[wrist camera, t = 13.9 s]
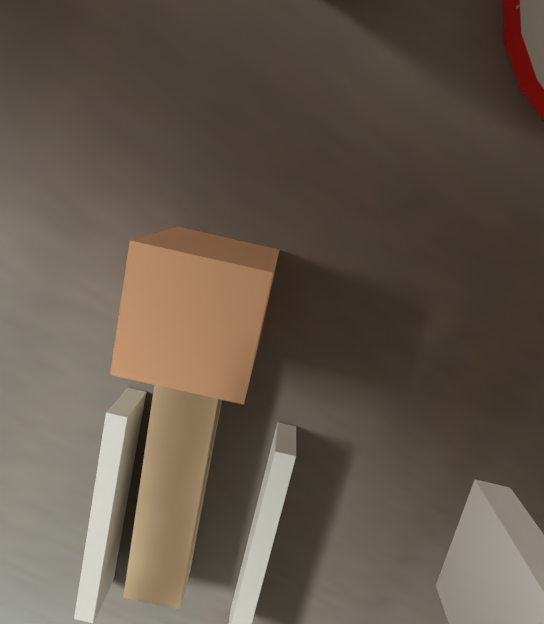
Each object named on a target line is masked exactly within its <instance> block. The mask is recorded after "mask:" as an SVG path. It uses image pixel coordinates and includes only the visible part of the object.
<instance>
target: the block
mask: <svg viewBox="0 0 544 624" xmlns="http://www.w3.org/2000/svg"><path fill="white" fill-rule="evenodd" d="M279 250H280V249H275V248H271V247H266V246H262V245H257V244H253V243H248V242H244V241H240V240H235V239H231V238H226V237H222V236H217V235H213V234H209V233H204V232H200V231H195V230H191V229H186V228H182V227H175V228H171V229H168V230H164V231H161V232H157V233H154V234H150V235H147V236H144V237H140V238H137V239H133V240H130V243H129V250H128V257H127V264H126V271H125V277H124V284H123V291H122V298H121V305H120V312H119V318H118V325H117V332H116V339H115V346H114V352H113V359H112V366H111V373H110V375H113V376H118V377H122V378H127V379H131V380H136V381H140V382H145V383H149V384H154V385H158V386H163V387H167V388H171V389H176V390H180V391H185V392H189V393H194V394H198V395H203V396H207V397H212V398H216V399H221V400H225V401H230V402H234V403H239V404H243V405H244V402H245V398H246V394H247V390H248V386H249V381H250V377H251V373H252V369H253V365H254V361H255V357H256V353H257V349H258V345H259V340H260V336H261V331H262V327H263V322H264V318H265V313H266V309H267V304H268V300H269V295H270V291H271V286H272V282H273V277H274V273H275V268H276V264H277V259H278V255H279Z"/></svg>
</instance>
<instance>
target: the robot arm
mask: <svg viewBox="0 0 544 624" xmlns="http://www.w3.org/2000/svg"><path fill="white" fill-rule="evenodd" d="M436 588H437V591H438V594H439V597H440V600H441V603H442V606H443V609H444V611H445V614H446V617H447V620H448V623H449V624H544V534H543V533H542V531H541V530H540V529H539V527H538V526H537V524H536V523H535V522H534V520H533V519H532V517H531V516H530V515H529V513H528V512H527V510H526V509H525V508H524V506H523V505H522V503H521V502H520V501H519V499H518V498H517V496H516V495H515V494H514V492H513V491H512V489H511V488H510V487H505V486H501V485H497V484H493V483H488V482H484V481H480V480H476V479H475V480H474V483H473V485H472V488H471V491H470V494H469V496H468V499H467V502H466V504H465V507H464V510H463V513H462V515H461V518H460V521H459V523H458V526H457V529H456V532H455V534H454V537H453V540H452V542H451V545H450V548H449V551H448V553H447V556H446V559H445V561H444V564H443V567H442V570H441V572H440V575H439V578H438V580H437V583H436Z"/></svg>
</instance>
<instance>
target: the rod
mask: <svg viewBox="0 0 544 624" xmlns="http://www.w3.org/2000/svg"><path fill="white" fill-rule="evenodd" d="M221 403H222V400H221V399H216V398H212V397H207V396H203V395H198V394H194V393H189V392H185V391H180V390H176V389H171V388H167V387H163V386H158V385H154V391H153V398H152V405H151V412H150V418H149V425H148V432H147V439H146V446H145V453H144V459H143V466H142V473H141V480H140V487H139V494H138V500H137V507H136V514H135V521H134V528H133V535H132V541H131V548H130V555H129V562H128V569H127V576H126V582H125V589H124V596H123V598H128V599H133V600H138V601H142V602H147V603H152V604H157V605H162V606H167V607H172V608H177V609H180V607H181V603H182V599H183V596H184V592H185V589H186V585H187V581H188V578H189V574H190V571H191V565H192V560H193V555H194V549H195V544H196V538H197V533H198V527H199V522H200V517H201V511H202V506H203V500H204V495H205V490H206V484H207V479H208V473H209V468H210V463H211V457H212V452H213V446H214V441H215V435H216V430H217V425H218V419H219V414H220V408H221Z"/></svg>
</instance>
